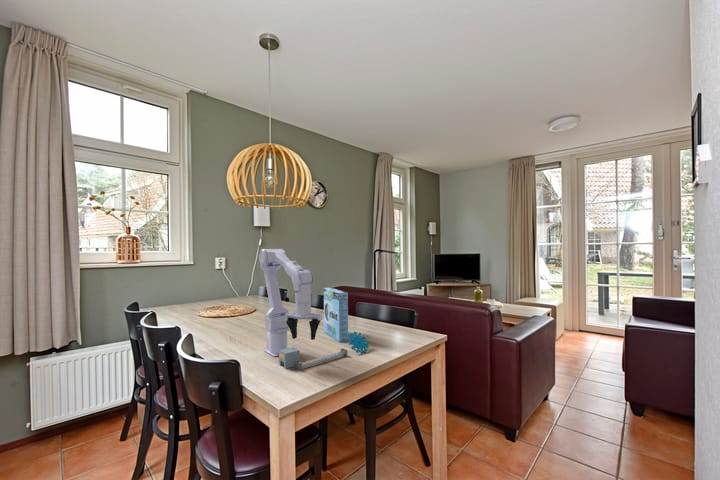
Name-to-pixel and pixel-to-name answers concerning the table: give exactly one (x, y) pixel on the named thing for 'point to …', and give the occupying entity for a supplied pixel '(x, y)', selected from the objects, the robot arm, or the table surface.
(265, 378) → the table surface
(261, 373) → the table surface
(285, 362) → the block
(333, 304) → the gum box
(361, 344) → the gear
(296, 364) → the rail
